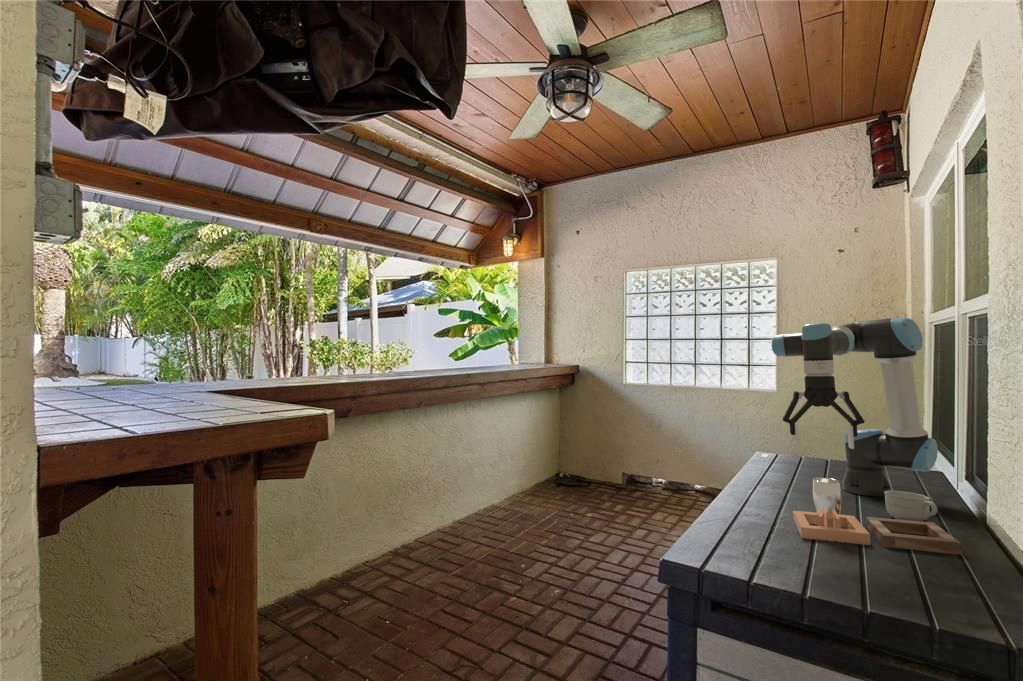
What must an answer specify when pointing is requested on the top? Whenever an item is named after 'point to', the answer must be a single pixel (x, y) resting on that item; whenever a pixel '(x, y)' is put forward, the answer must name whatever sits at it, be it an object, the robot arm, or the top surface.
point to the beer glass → (827, 501)
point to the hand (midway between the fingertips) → (823, 447)
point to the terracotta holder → (831, 529)
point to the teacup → (909, 506)
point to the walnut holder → (933, 543)
